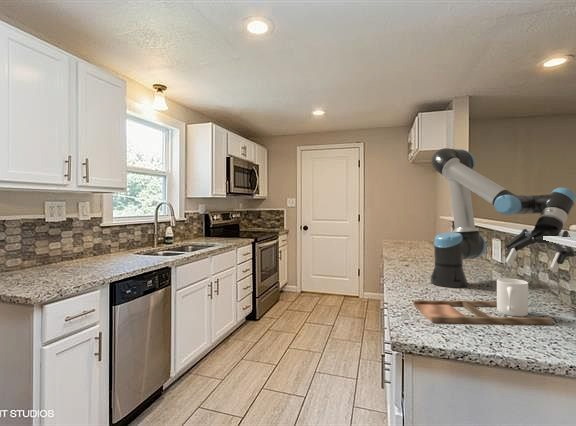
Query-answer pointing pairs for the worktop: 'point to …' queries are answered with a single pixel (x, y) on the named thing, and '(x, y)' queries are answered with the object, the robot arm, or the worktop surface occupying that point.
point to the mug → (512, 297)
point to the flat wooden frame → (448, 314)
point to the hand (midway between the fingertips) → (528, 267)
